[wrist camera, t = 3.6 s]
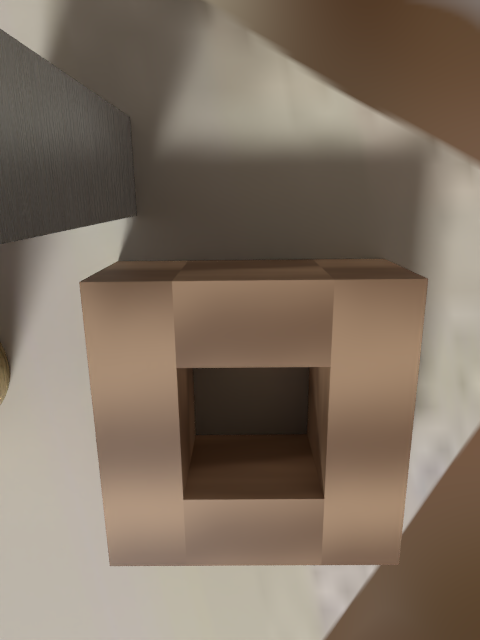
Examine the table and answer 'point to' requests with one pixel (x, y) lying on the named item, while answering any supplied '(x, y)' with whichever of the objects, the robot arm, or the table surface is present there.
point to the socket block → (254, 450)
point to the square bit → (58, 150)
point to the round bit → (3, 373)
